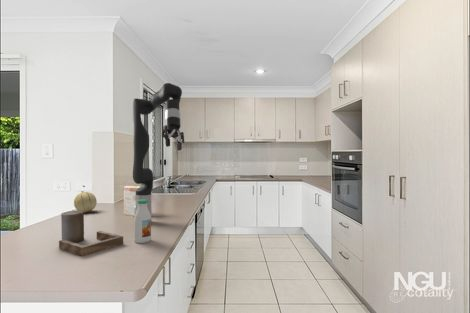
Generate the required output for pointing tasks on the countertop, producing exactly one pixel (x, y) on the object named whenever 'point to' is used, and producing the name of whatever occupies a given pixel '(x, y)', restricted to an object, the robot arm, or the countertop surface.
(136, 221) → the milk bottle
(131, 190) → the coffeecake box
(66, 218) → the pillar candle
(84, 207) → the cantaloupe
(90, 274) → the countertop surface
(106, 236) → the display frame
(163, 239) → the countertop surface
